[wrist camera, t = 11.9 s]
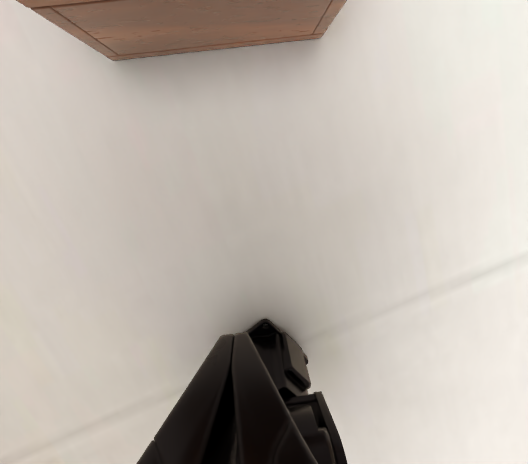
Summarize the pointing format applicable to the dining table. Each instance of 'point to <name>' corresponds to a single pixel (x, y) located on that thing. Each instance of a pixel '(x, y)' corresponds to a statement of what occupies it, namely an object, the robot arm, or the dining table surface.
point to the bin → (189, 24)
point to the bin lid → (49, 2)
